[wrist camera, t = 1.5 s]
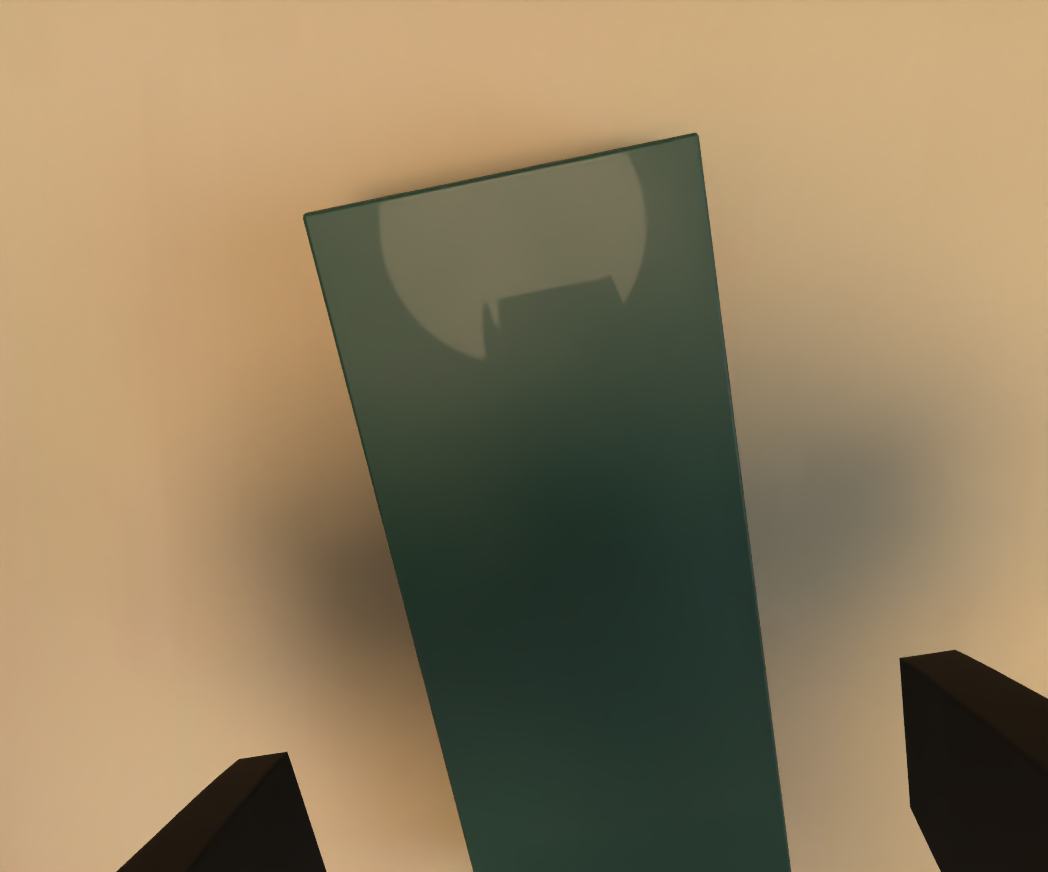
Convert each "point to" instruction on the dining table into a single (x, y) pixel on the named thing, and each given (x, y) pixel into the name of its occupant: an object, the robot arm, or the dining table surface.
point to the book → (566, 507)
